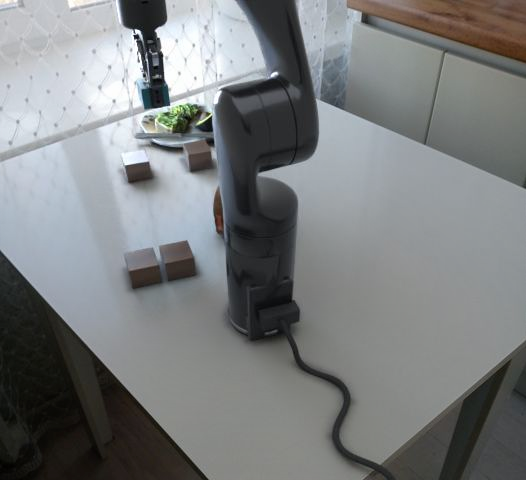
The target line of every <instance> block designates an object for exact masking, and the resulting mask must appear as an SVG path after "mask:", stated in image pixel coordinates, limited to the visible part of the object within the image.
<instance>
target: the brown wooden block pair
mask: <svg viewBox="0 0 526 480" xmlns="http://www.w3.org/2000/svg"><path fill="white" fill-rule="evenodd" d="M158 250H159V256H160V262H161V266H162V268H163V271H164V274H165V276H166V280H167V281H168V282H169V281H173V280H178V279H183V278H187V277H192V276H196V275H197V269H196V268H197V267H196V259H195V256H194V254H193V250H192V248H191V246H190V243H189V241H188V239H187V240H181V241H180V240H179V241H176V242H171V243H166V244H161V245H158ZM123 257H124V262H125V266H126V270H127V274H128V277H129V281H130V284H131V288H132V289H136V288H142V287H146V286H152V285H155V284H161V283H163V280H162V275H161V268H160V264H159V260H158V257H157V255H156V252H155V249H154V247H153V246H150V247H146V248H141V249H136V250H131V251H126V252H123Z"/></svg>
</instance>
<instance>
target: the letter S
mask: <svg viewBox="0 0 526 480" xmlns="http://www.w3.org/2000/svg"><path fill="white" fill-rule="evenodd" d="M152 78H158V75H156V76H153V77H152ZM135 81H136V88H137V93H138V99H139V101H140V103H141V106H142V108H143V110H144V111H145V110H152V109H154V108H152V106H151V101H150V94H149V88H148V85H147V78H146V77H143V76H141V77H135ZM162 89H163V97H164V107H163V108H168V107H171V99H170V98H171V97H170V90H169V85H168V82H167V81H166V80H165V86H162Z"/></svg>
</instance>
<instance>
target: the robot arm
mask: <svg viewBox="0 0 526 480" xmlns="http://www.w3.org/2000/svg"><path fill="white" fill-rule="evenodd" d="M233 1H234V2H235V3H236V5H237V6H238V8H239V9H240V10H241V12H242V13H243V15H244V17H245V18H246V20H247V21H248V24H249V25H250V27H251V28H252V30H253V32H254V36H255V37H256V40H257V42H258V45H259V48H260V50H261V54H262V55H261V56H262V59H263V62H264V65H265V70H266V76H267V77H263V78H259V79H254V80H249V81H243V82H238V83H233V84H229V85H226V86H222V87H220V88H219V89H218V90H217V91H216V93H215V95H214V97H213V101H212V107H211V108H212V126H213V135H214V141H213V142H214V150H215V157H216V158H215V159H216V166H217V176H218V185H219V188H220V194H221V200H222V206H223V219H224V235H223V237H224V254H225V269H226V271H225V273H226V284H227V285H226V286H227V287H226V288H227V303H228V308H227V313H228V320H229V322H230V324H231V326H232V327H233V328H234V329H235V330H236V331H238V332H239V333H241V334H243V335H246V336H247V337H248V339H249V340H250V341H255V340H258V339H263V338H266V337H273V336H275V335H279V334H283V333H284V335H285V337H286V340H287V342H288V344H289V346H290V349H291V352H292V355H293V358H294V362H296V364H297V365H298V367H299V368H300V369H302V370H303V371H304V372H306V373H308V374H310V375H312V376H315V377H316V378H319V379H323V380H325V381H328V382H331V383H333V384H334V385H336V386H338V387H339V389H340V390H341V392H342V393H343V404H342V406H341V409H340V411H339V412H338V415H337V417H336V419H335V421H334V423H333V427H332V433H331V434H332V435H331V436H332V440H333V444H334V446H335V447H336V449H337V450H338V452H339V453H340V454H341V455H343V456H344V457H346V458H347V459H348V460H350V461H352V462H354V463H357V464H359V465H361V466H364V467H366V468H369V469H372V470H374V471H376V472H377V473H379V474H380V475H382V476H383V477H384V478H385V479H386V480H397V479H396V477H395V476H394V475H393V474H392V472H390V471H389V470H388V469H387V468H386V467H384V466H383V465H381V464H379V463H378V462H375V461H372V460H370V459H368V458H365V457H361V456H359V455H357V454H355V453H353V452H352V451H350V450H348V449H347V448H346V446H344V445H343V443H342V441H341V439H340V428H341V425H342V423H343V421H344V419H345V417H346V415H347V413H348V411H349V408H350V404H351V400H352V399H351V392H350V390H349V388H348V386H347V385H346V383H344V382H343V381H342V379H339V378H338V377H336V376H334V375H332V374H329V373H325V372H322V371H319V370H317V369H314V368H312V367H311V366H309V365H308V364H307V363H306V362H304V361H303V359H302V358H301V355H300V351H299V348H298V346H297V343H296V340H295V338H294V336H293V335H292V334H293V333H292V332H291V329H292V324H296V323H299V322H300V320H301V319H300V318H301V309H300V307H299V305H298V303H297V301H296V300H295V299H294V285H295V284H294V283H295V267H296V253H297V252H296V249H297V234H298V233H297V232H298V219H299V199H298V196H297V193H296V192H295V190H294V189H293V188H292V187H291V186H290V185H288V184H287V183H285V182H284V181H281V180H279V179H277V178H273V177H269V176H263V175H259V174H261V173H264V172H269V171H272V170H277V169H280V168H284V167H288V166H293V165H297V164H300V163H303V162H306V161H308V160H310V159H311V158H312V157H313V156H314V155H315V153H316V151H317V148H318V146H319V138H320V120H319V119H320V118H319V110H318V109H319V108H318V103H317V97H316V92H315V88H314V82H313V78H312V72H311V69H310V64H309V59H308V56H307V55H308V53H307V50H306V45H305V40H304V36H303V31H302V26H301V21H300V16H299V11H298V6H297V1H296V0H233ZM115 4H116V8H117V9H116V10H117V16H118V21H119V24H120V25H121V26H122V27H123V28H125V29H128V30H131V32H132V34H131V38H132V43H133V46H134V51H135V57H136V61H137V63H138V65H139V71H140V72H141V75H142V76H141V77H146V78H147V85H148V88H149V94H150V101H151V106H152V108H153V109H155V110H157V109H164V108H165V107H164V97H163V89H162V86H165V81H166V78H165V77H166V76H165V66H164V64H165V63H164V52H163V51H162V48H163V47H162V42H161V41H162V40H161V38H160V37H159V36H158V33H157V31H156V30H158V29H159V28H162V27H163V26H164V25H166V23H167V22H168V11H167V9H168V8H167V1H166V0H115ZM156 75H158V78H152V77H153V76H156Z"/></svg>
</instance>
